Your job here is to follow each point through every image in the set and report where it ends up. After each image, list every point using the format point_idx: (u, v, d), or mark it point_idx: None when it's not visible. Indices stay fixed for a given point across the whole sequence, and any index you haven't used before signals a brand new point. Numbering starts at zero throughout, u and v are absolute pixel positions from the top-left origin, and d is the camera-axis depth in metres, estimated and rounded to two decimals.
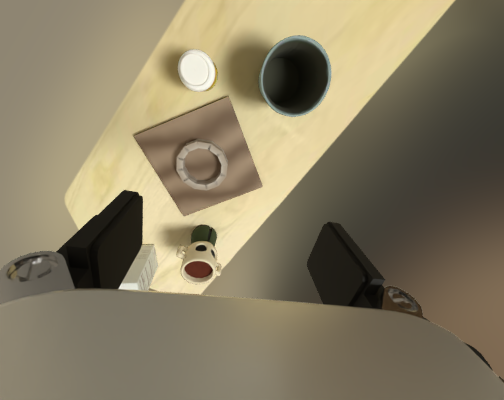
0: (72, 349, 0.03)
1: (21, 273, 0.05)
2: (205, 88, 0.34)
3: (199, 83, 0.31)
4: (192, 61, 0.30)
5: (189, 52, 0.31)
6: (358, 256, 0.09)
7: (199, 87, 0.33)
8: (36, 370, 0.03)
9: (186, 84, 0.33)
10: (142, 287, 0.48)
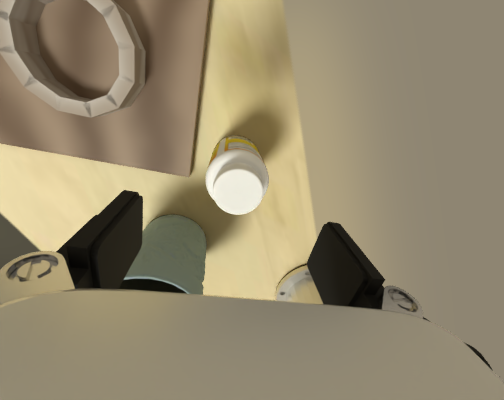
0: (72, 349, 0.03)
1: (21, 273, 0.05)
2: (207, 180, 0.18)
3: (215, 188, 0.16)
4: (250, 197, 0.17)
5: (264, 190, 0.19)
6: (358, 256, 0.09)
7: (213, 173, 0.18)
8: (36, 370, 0.03)
9: (229, 157, 0.17)
10: None
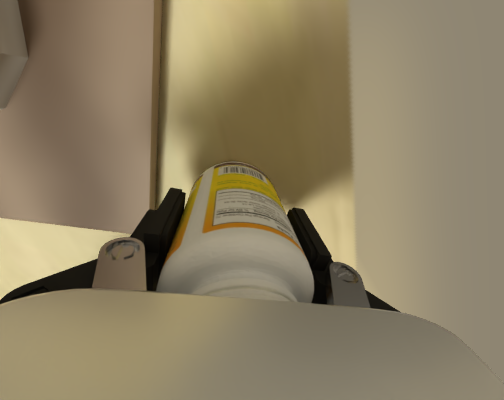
0: (72, 349, 0.03)
1: (115, 254, 0.06)
2: None
3: None
4: None
5: None
6: (312, 236, 0.09)
7: None
8: (36, 370, 0.03)
9: (216, 257, 0.06)
10: None
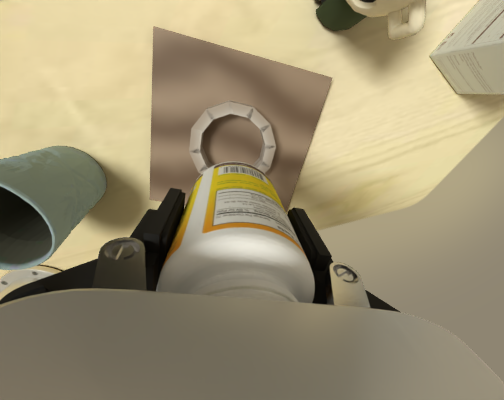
0: (72, 349, 0.03)
1: (115, 254, 0.06)
2: None
3: None
4: None
5: None
6: (312, 236, 0.09)
7: None
8: (36, 370, 0.03)
9: (216, 257, 0.06)
10: None
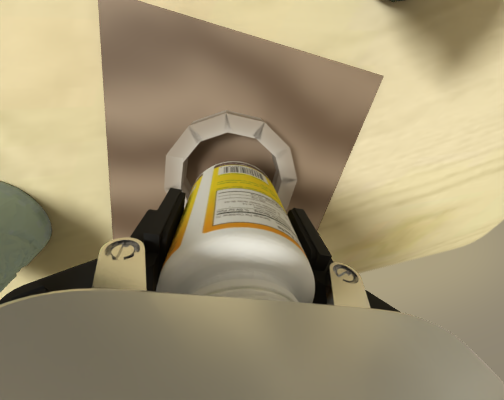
0: (72, 349, 0.03)
1: (115, 254, 0.06)
2: None
3: None
4: None
5: None
6: (312, 236, 0.09)
7: None
8: (36, 370, 0.03)
9: (216, 257, 0.06)
10: None
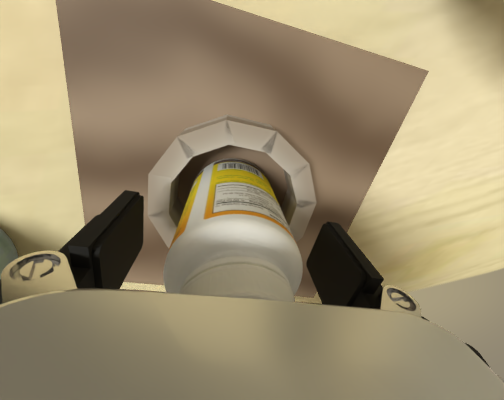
0: (72, 349, 0.03)
1: (24, 272, 0.05)
2: (166, 282, 0.08)
3: None
4: None
5: (293, 294, 0.09)
6: (357, 255, 0.09)
7: (178, 272, 0.08)
8: (36, 370, 0.03)
9: (215, 239, 0.07)
10: None
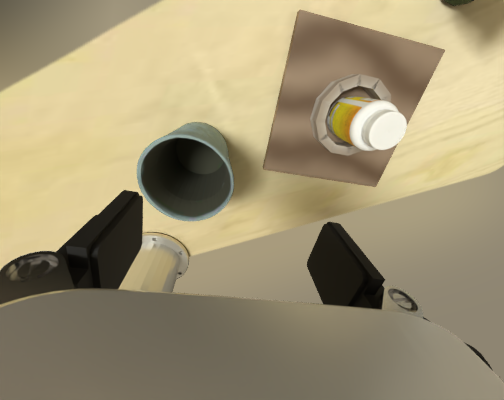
0: (72, 349, 0.03)
1: (21, 273, 0.05)
2: (354, 125, 0.24)
3: (373, 128, 0.22)
4: (395, 135, 0.23)
5: None
6: (358, 256, 0.09)
7: (362, 119, 0.24)
8: (36, 370, 0.03)
9: (377, 105, 0.23)
10: None
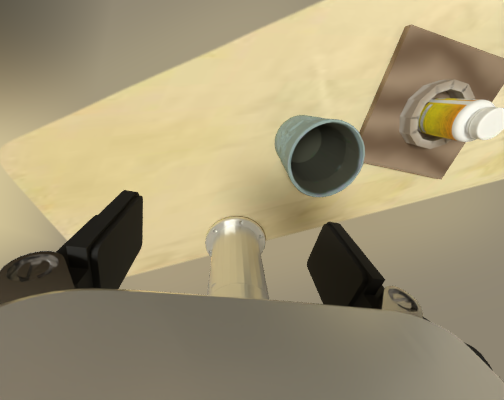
0: (72, 349, 0.03)
1: (21, 273, 0.05)
2: (460, 119, 0.29)
3: (482, 120, 0.27)
4: (498, 127, 0.28)
5: None
6: (358, 256, 0.09)
7: (467, 114, 0.29)
8: (36, 370, 0.03)
9: (481, 103, 0.28)
10: None
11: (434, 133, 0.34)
